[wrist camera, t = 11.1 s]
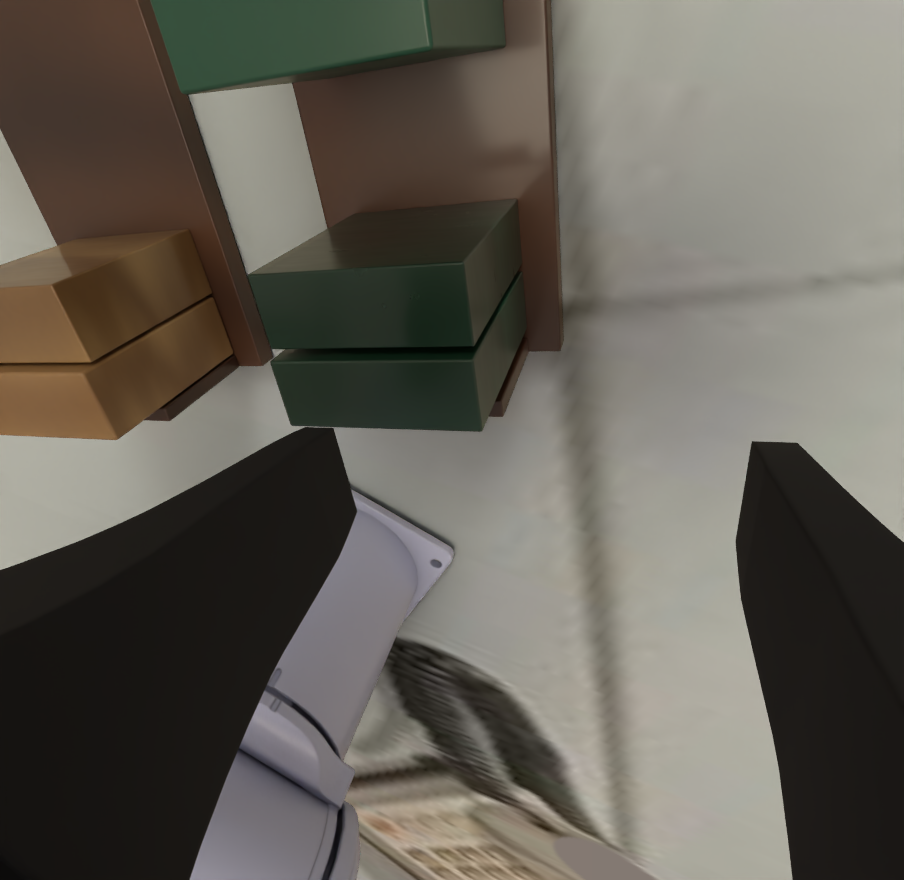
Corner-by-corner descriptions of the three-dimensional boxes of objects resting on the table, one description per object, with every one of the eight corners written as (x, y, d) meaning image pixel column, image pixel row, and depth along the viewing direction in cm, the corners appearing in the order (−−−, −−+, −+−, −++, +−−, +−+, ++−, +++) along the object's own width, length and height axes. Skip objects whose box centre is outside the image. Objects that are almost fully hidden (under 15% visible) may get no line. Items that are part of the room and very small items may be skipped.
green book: (506, 47, 14) (433, 50, 9) (323, 79, 16) (179, 95, 11) (499, -47, 13) (413, -99, 8) (305, -4, 15) (139, -27, 10)
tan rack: (273, 357, 22) (152, 458, 17) (130, 358, 24) (-19, 449, 19) (63, -286, 14) (-327, -504, 8) (-132, -197, 16) (-543, -322, 10)
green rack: (564, 341, 19) (528, 463, 13) (366, 344, 21) (266, 450, 15) (533, -486, 10) (403, -1071, 5) (207, -339, 12) (-135, -634, 7)
